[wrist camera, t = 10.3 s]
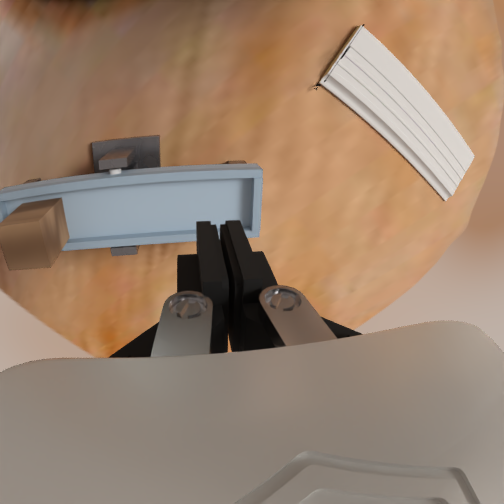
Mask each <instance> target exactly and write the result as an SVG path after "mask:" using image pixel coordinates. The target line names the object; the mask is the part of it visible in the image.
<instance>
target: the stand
mask: <svg viewBox="0 0 504 504" xmlns="http://www.w3.org/2000/svg"><path fill="white" fill-rule="evenodd" d="M92 149H93V160H94V171H95V173H103V172H109V169H112V168H121V171H122V170H132V169H144V168H157V167H161V163H160V135H154V136H142V137H131V138H121V139H112V140H104V141H96V142H93V143H92ZM228 164H247V163H246V162H245V161H228ZM38 181H41V179H40V178H39V179H33V180H28V181H26V182H25V183H23V184H26V183H32V182H38ZM138 249H139V245H132V246H119V247H111V254H112V256H120V255H134V254H137V253H138Z"/></svg>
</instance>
